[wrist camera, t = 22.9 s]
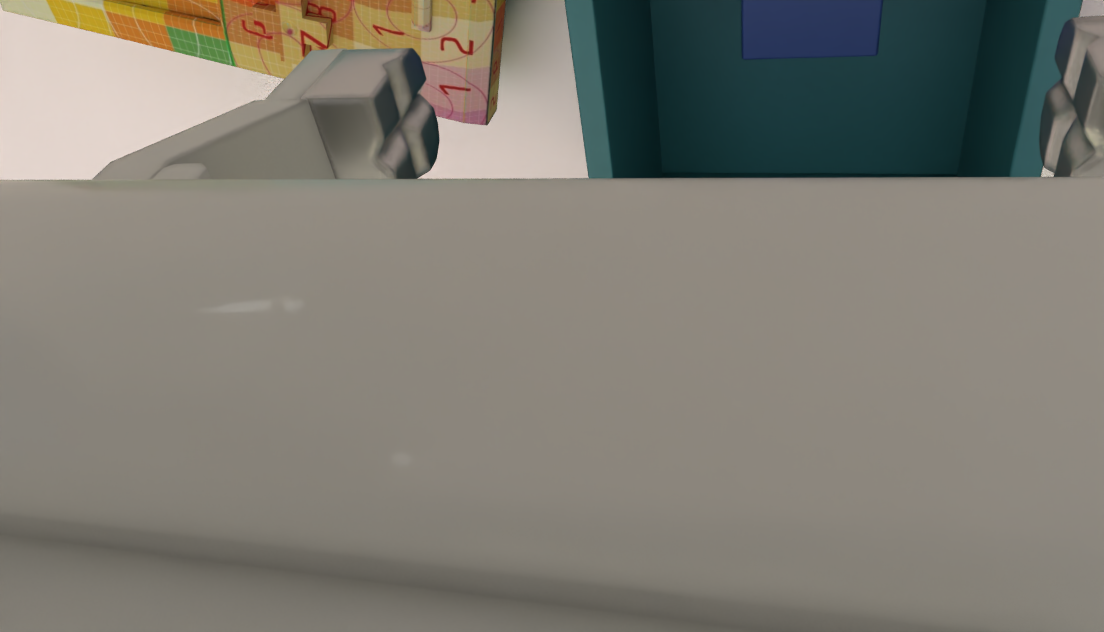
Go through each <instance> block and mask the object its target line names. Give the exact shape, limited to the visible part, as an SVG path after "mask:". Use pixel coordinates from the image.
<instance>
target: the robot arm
mask: <svg viewBox="0 0 1104 632" xmlns="http://www.w3.org/2000/svg"><path fill="white" fill-rule="evenodd" d="M1054 59H1055V62H1056V64H1057V67H1058V69H1059V72H1060V74H1061V77H1062V78H1061V79H1060V80H1059V81H1058V82H1057V83H1055V84H1054V85H1053V86H1052V87H1051V88H1050V89H1049V90H1048V91H1047V92H1046V94H1045V99H1044V104H1043V109H1042V114H1041V119H1040V132H1039V146H1040V156H1041V159H1042V162H1043V166H1044V168H1046V169H1048V170H1049V171H1051V172H1053V173H1054V177H885V178H545V179H417V178H418V177H420V176H422V175H424V174H425V173H427V172H429V171H430V170H431V168H432V166H433V165H434V163H435V161H436V159H437V153H438V146H439V131H438V122H437V118H436V114H435V110H434V107H433V106H432V105H431V104H430V103H429V102H428V101H427V100H426V99H425V98H424V97H423V96H422V95H421V94H420V93H421V91H422V89H423V86H424V84H425V82H426V75H425V72H424V68H423V65H422V61H421V58H420V56H419V55H418V54H417V52H416V51H415V50H414V49H413V48H389V49H350V50H348V49H346V48H343V49H328V50H314V51H310V52H309V54H308V55H307V56H306V57H305V58H304V59H303V60H302V61H301V62H300V63H299V64H298V65H297V66H296V67H295V68H294V69H293V70H292V72H291V73H290V74H289V75H288V76H287V77H286V78H285V79H284V80H283V81H282V82H281V83H280V84H279V85H278V86H277V87H276V88H275V89H274V91H273V92H272V93H271V94H270V95H269V96H268V97H267V98H266V99H265V100H257V101H253V102H250V103H248V104H246V105H243V106H241V107H239V108H236V109H234V110H232V111H229V112H227V113H225V114H222V115H220V116H217V117H215V118H213V119H210V120H208V121H206V122H203V123H201V124H199V125H196V126H194V127H192V128H189V129H187V130H185V131H182V132H180V133H178V134H175V135H173V136H171V137H168V138H166V139H164V140H161V141H159V142H157V143H154V144H152V145H149V146H147V147H145V148H142V149H140V150H138V151H135V152H133V153H131V154H128V155H126V156H124V157H121V158H119V159H117V160H114V161H112V162H110V163H109V164H108V165H107V166H106V167H105V168H104V169H103V170H102V171H100V172H99V173H98V174H97V175H96V176H95V177H94V178H93V179H92V180H0V632H1104V16H1089V17H1074V18H1071V19H1069V20H1068V21H1066V22H1065V23H1064V26H1063V28H1062V31H1061V33H1060V36H1059V39H1058V43H1057V48H1056V52H1055V56H1054Z"/></svg>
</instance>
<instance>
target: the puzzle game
mask: <svg viewBox="0 0 1104 632" xmlns="http://www.w3.org/2000/svg"><path fill="white" fill-rule="evenodd" d="M0 3H1V6H2V9H3V10H4V11H8V12H12V13H16V14H20V15H25V16H29V17H33V18H37V19H42V20H46V21H50V22H54V23H58V24H63V25H67V26H71V27H75V28H79V29H84V30H88V31H92V32H96V33H101V34H105V35H109V36H113V37H117V38H122V39H126V40H130V41H134V42H138V43H142V44H146V45H150V46H154V47H158V48H162V49H166V50H170V51H174V52H178V53H182V54H186V55H191V56H195V57H199V58H203V59H207V60H211V61H215V62H219V63H223V64H227V65H231V66H235V67H239V68H243V69H247V70H251V71H255V72H260V73H264V74H268V75H272V76H276V77H280V78H284V79H285V78H286V77H287V76H288V75H289V74H290V73H291V72H292V70H293V69H294V68H295V67H296V66H297V65H298V64H299V63H300V62H301V61H302V60H303V59H304V58H305V57H306V56H307V55H308V54H309V52H310V51H314V50H328V49H343V48H346V49H348V50H350V49H389V48H413V49H414V50H415V51H416V52H417V54H418V55H419V56H420V58H421V61H422V65H423V68H424V72H425V75H426V82H425V84H424V86H423V89H422V91H421V93H420V94H421V95H422V96H423V97H424V98H425V99H426V100H427V101H428V102H429V103H430V104H431V105H432V106H433V107H434V110H435V114H436V116H438V117H442V118H446V119H450V120H454V121H458V122H463V123H470V124H480V125H488V123H489V122H490V120H491V118H492V117H493V115H494V113H495V112H496V110H497V99H498V87H499V75H500V63H501V51H502V39H503V27H504V15H505V3H506V0H0Z"/></svg>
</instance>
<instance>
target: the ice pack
mask: <svg viewBox="0 0 1104 632" xmlns="http://www.w3.org/2000/svg"><path fill="white" fill-rule="evenodd" d="M882 7H883V0H741V27H742V59H744V60H754V59H789V58H825V57H861V56H877V54H878V49H879V39H880V28H881V18H882Z"/></svg>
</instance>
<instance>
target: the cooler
mask: <svg viewBox="0 0 1104 632" xmlns="http://www.w3.org/2000/svg"><path fill="white" fill-rule="evenodd" d="M1082 1H1083V0H883V7H882V18H881V28H880V39H879V49H878V54H877V56H861V57H825V58H789V59H754V60H744V59H742V27H741V0H565V7H566V14H567V21H568V29H569V36H570V43H571V51H572V58H573V66H574V73H575V80H576V88H577V95H578V103H579V110H580V117H581V125H582V132H583V140H584V147H585V154H586V162H587V169H588V177H589V178H885V177H1041V173H1042V169H1043V162H1042V159H1041V156H1040V146H1039V132H1040V119H1041V114H1042V109H1043V104H1044V99H1045V94H1046V92H1047V91H1048V90H1049V89H1050V88H1051V87H1052V86H1053V85H1054V84H1055V83H1057V82H1058V81H1059V80H1060V79H1061V78H1062V77H1061V74H1060V72H1059V69H1058V67H1057V64H1056V62H1055V59H1054V56H1055V52H1056V48H1057V43H1058V39H1059V36H1060V33H1061V31H1062V28H1063V26H1064V23H1065V22H1066V21H1068V20H1069V19H1071V18H1074V17H1079V14H1080V10H1081V5H1082Z"/></svg>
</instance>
